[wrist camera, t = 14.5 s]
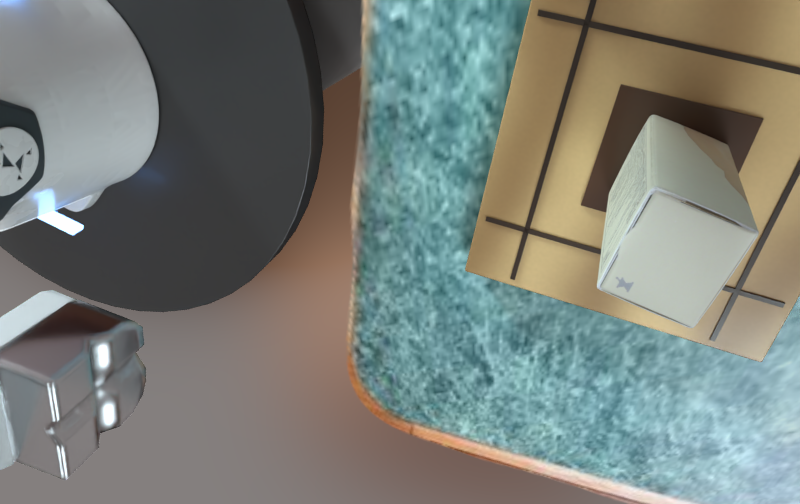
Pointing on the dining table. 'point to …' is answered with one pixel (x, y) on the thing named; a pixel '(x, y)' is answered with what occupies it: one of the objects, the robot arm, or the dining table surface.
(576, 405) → the dining table surface
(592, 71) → the board
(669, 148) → the box
